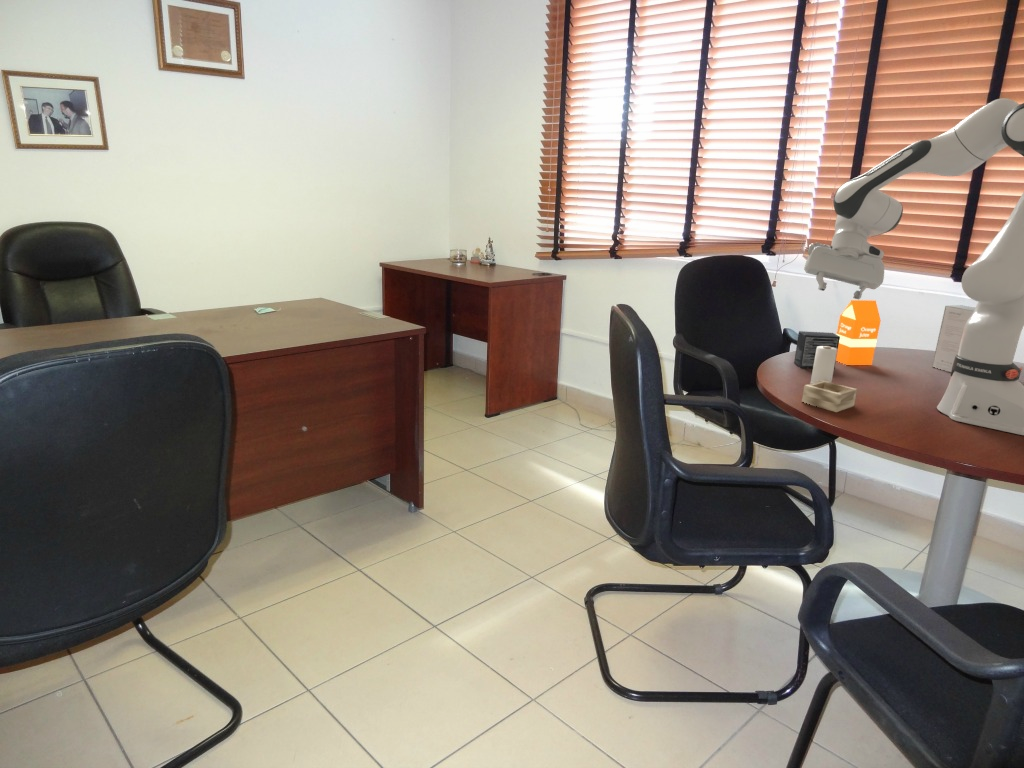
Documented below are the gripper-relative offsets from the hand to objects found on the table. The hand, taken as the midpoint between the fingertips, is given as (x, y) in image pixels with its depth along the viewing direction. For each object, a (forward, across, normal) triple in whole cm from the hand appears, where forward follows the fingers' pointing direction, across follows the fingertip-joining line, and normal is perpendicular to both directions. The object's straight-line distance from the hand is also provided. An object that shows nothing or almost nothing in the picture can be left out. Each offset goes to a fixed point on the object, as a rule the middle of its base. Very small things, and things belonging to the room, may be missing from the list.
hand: (839, 293), depth 180 cm
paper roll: (+27, +1, +5) cm, 28 cm away
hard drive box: (-1, +50, +31) cm, 58 cm away
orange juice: (+3, +19, +35) cm, 40 cm away
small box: (+10, +6, +29) cm, 31 cm away
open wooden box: (+34, +1, -4) cm, 34 cm away
